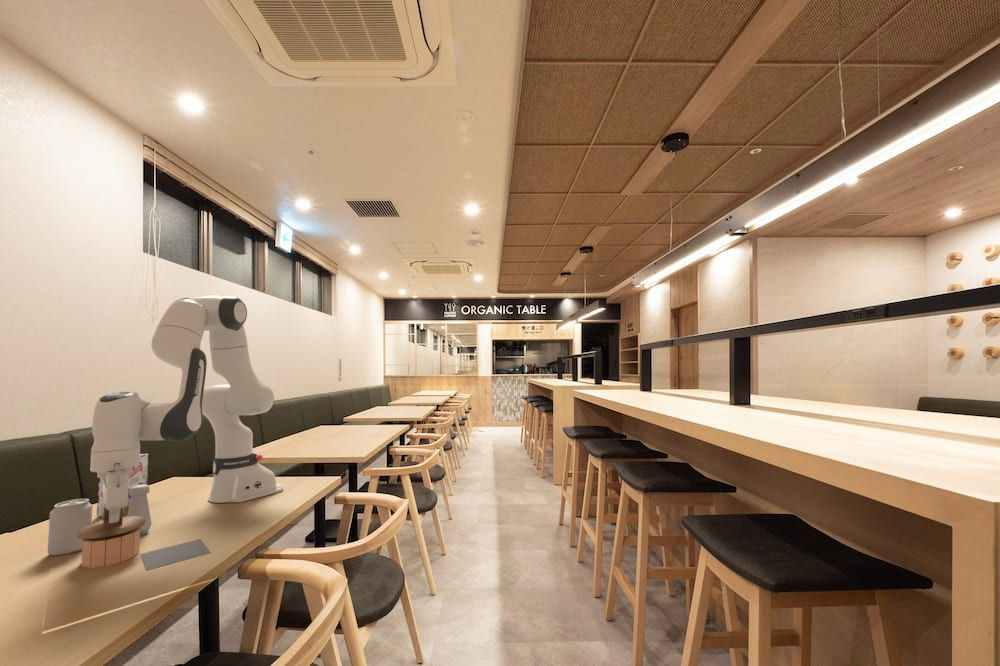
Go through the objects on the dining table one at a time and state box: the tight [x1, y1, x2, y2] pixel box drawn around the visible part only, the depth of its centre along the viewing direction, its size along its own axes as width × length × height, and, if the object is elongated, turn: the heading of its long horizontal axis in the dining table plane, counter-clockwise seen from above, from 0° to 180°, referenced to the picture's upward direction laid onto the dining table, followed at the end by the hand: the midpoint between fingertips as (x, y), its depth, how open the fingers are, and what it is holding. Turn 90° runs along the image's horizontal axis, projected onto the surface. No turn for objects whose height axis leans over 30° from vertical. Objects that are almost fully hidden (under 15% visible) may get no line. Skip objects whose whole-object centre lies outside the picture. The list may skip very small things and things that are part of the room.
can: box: [47, 498, 93, 557], centre depth 106 cm, size 8×8×12 cm
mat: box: [139, 538, 212, 571], centre depth 102 cm, size 12×12×1 cm
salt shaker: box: [127, 484, 152, 537], centre depth 116 cm, size 6×6×13 cm
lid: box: [77, 507, 145, 539], centre depth 101 cm, size 12×12×5 cm
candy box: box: [96, 453, 149, 518], centre depth 137 cm, size 14×6×16 cm, turn 9°
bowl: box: [81, 527, 141, 569], centre depth 101 cm, size 10×10×6 cm
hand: (113, 519), depth 101 cm, fingers closed on lid, 3 cm apart
